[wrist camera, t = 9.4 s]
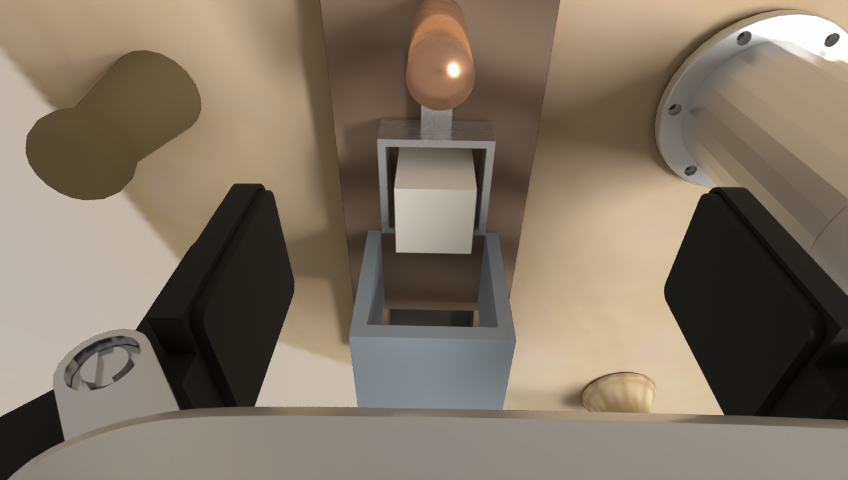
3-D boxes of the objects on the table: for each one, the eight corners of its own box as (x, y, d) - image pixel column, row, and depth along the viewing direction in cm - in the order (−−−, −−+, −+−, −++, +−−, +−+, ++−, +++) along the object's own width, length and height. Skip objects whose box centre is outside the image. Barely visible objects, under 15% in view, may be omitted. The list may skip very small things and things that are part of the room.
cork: (180, 147, 37) (103, 234, 29) (100, 97, 35) (-10, 175, 26) (215, 89, 34) (141, 166, 26) (130, 31, 32) (17, 93, 23)
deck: (495, 346, 51) (498, 366, 49) (363, 343, 51) (360, 362, 49) (554, -26, 29) (563, -18, 27) (325, -30, 30) (317, -22, 28)
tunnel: (488, 303, 44) (501, 413, 35) (373, 300, 44) (358, 409, 35) (497, 232, 39) (515, 340, 30) (368, 230, 39) (348, 336, 30)
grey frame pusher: (482, 211, 37) (494, 302, 29) (385, 209, 37) (372, 299, 29) (504, -8, 28) (531, 43, 20) (375, -10, 28) (352, 40, 20)
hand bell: (668, 376, 54) (739, 533, 41) (635, 417, 59) (689, 568, 46) (598, 367, 53) (648, 524, 40) (570, 409, 58) (608, 560, 45)
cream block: (471, 144, 34) (476, 190, 29) (466, 203, 37) (471, 253, 32) (399, 143, 34) (394, 188, 29) (401, 202, 37) (396, 252, 32)
